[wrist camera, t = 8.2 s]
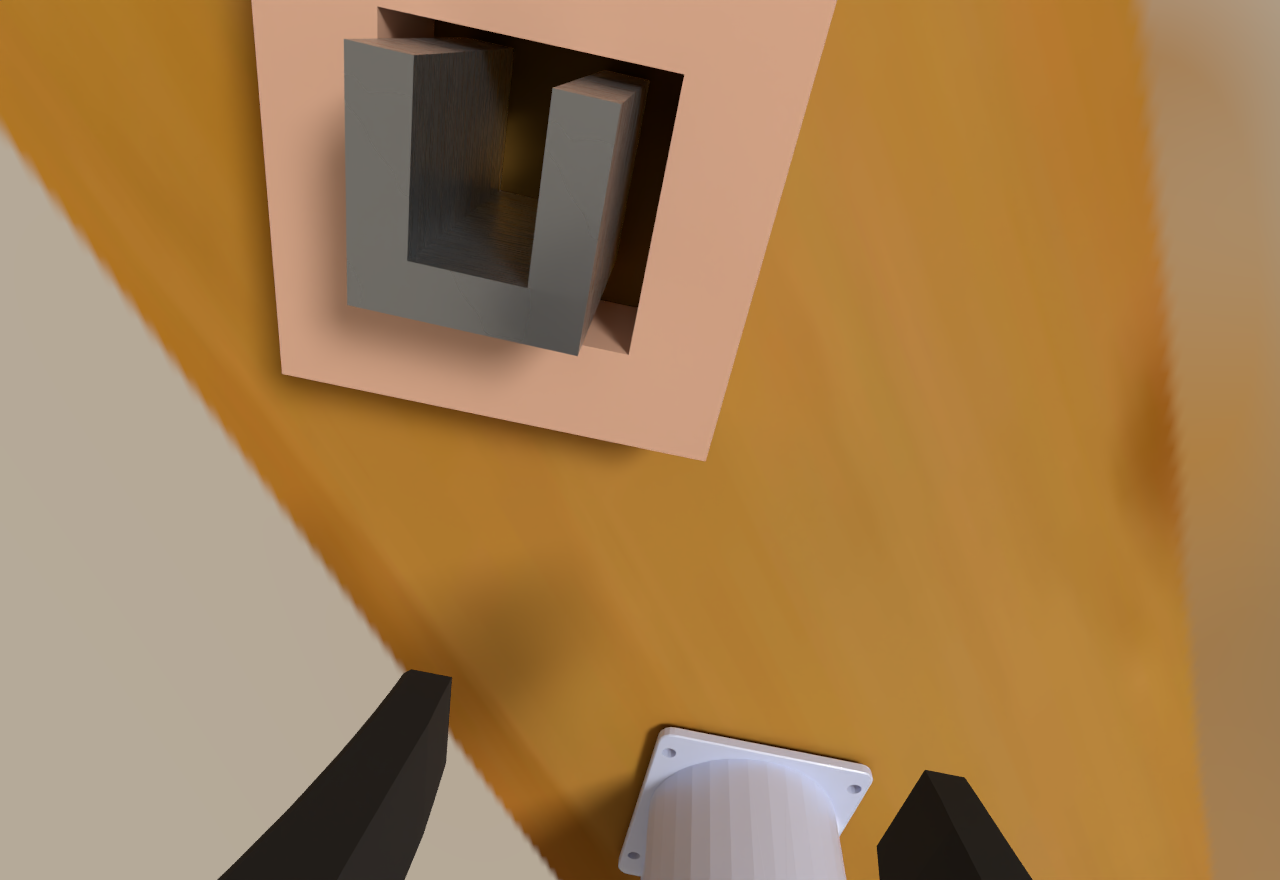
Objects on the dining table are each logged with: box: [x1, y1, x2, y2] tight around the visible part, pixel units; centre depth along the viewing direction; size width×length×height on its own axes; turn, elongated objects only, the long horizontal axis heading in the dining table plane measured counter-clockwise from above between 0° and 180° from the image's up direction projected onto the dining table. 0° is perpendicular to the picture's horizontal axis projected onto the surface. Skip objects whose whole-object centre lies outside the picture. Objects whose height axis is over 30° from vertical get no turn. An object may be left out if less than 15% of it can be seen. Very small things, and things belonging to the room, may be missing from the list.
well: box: [251, 0, 837, 461], centre depth 15 cm, size 10×10×3 cm
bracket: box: [344, 38, 650, 356], centre depth 13 cm, size 4×4×6 cm
